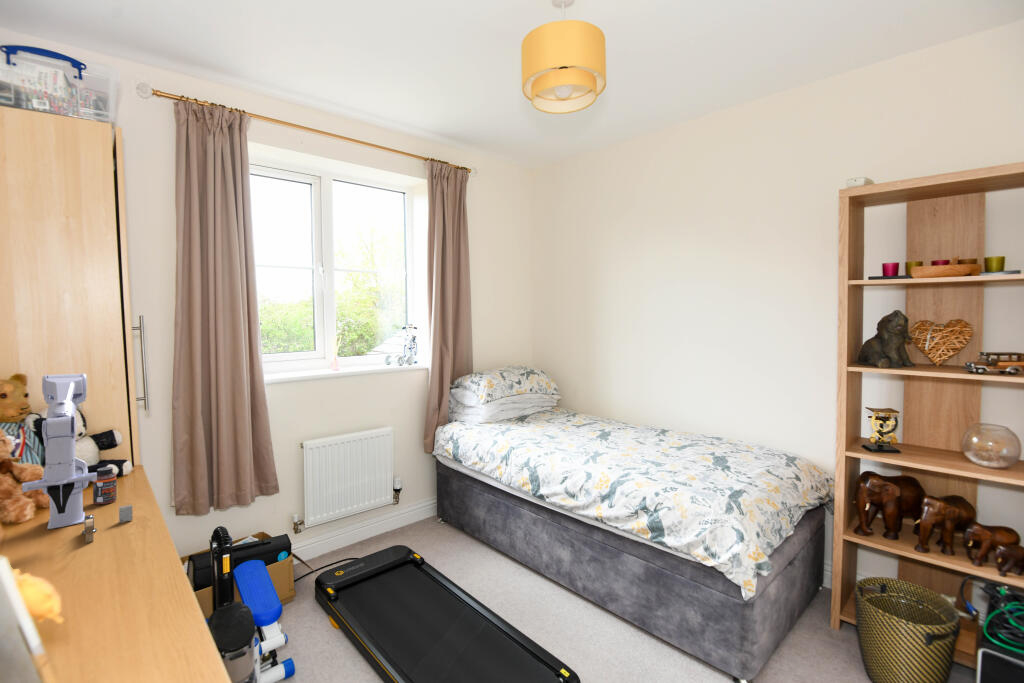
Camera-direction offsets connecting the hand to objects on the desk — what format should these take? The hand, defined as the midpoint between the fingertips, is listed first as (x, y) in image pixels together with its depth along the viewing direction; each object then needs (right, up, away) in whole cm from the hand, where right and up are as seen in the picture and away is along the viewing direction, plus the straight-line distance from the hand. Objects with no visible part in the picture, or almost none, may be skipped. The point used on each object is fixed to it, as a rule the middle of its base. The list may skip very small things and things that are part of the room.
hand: (61, 512), depth 130 cm
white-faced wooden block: (+5, -8, +15) cm, 18 cm away
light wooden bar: (+4, -8, +4) cm, 10 cm away
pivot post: (+1, -8, +8) cm, 11 cm away
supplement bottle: (-14, -8, +31) cm, 35 cm away
